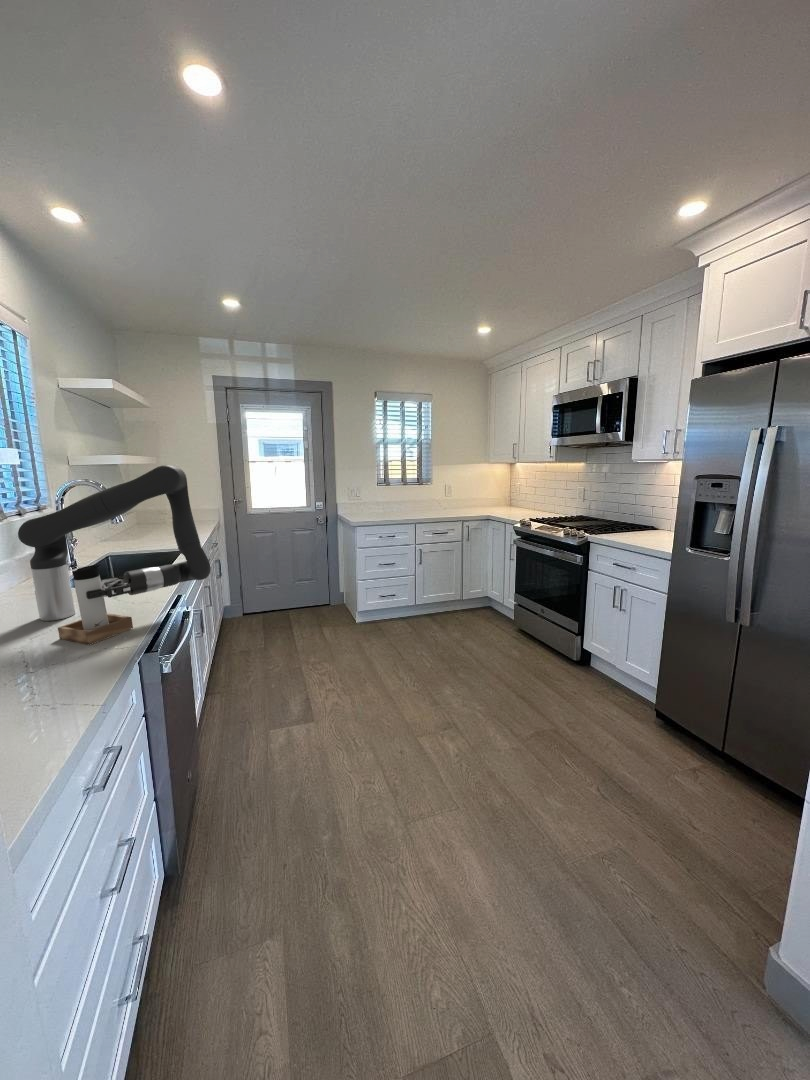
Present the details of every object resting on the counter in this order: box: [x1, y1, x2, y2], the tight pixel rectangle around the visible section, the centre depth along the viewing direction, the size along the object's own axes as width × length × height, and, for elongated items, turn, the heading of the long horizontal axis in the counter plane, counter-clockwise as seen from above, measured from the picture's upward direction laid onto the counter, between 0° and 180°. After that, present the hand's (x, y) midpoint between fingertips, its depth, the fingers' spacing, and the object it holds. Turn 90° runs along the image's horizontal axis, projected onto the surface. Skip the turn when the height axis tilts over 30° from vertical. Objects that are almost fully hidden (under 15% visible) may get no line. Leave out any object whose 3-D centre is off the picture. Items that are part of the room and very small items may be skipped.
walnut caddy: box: [57, 612, 134, 646], centre depth 131 cm, size 13×13×4 cm
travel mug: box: [71, 564, 109, 631], centre depth 130 cm, size 6×7×20 cm
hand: (82, 592), depth 128 cm, fingers open, 8 cm apart
